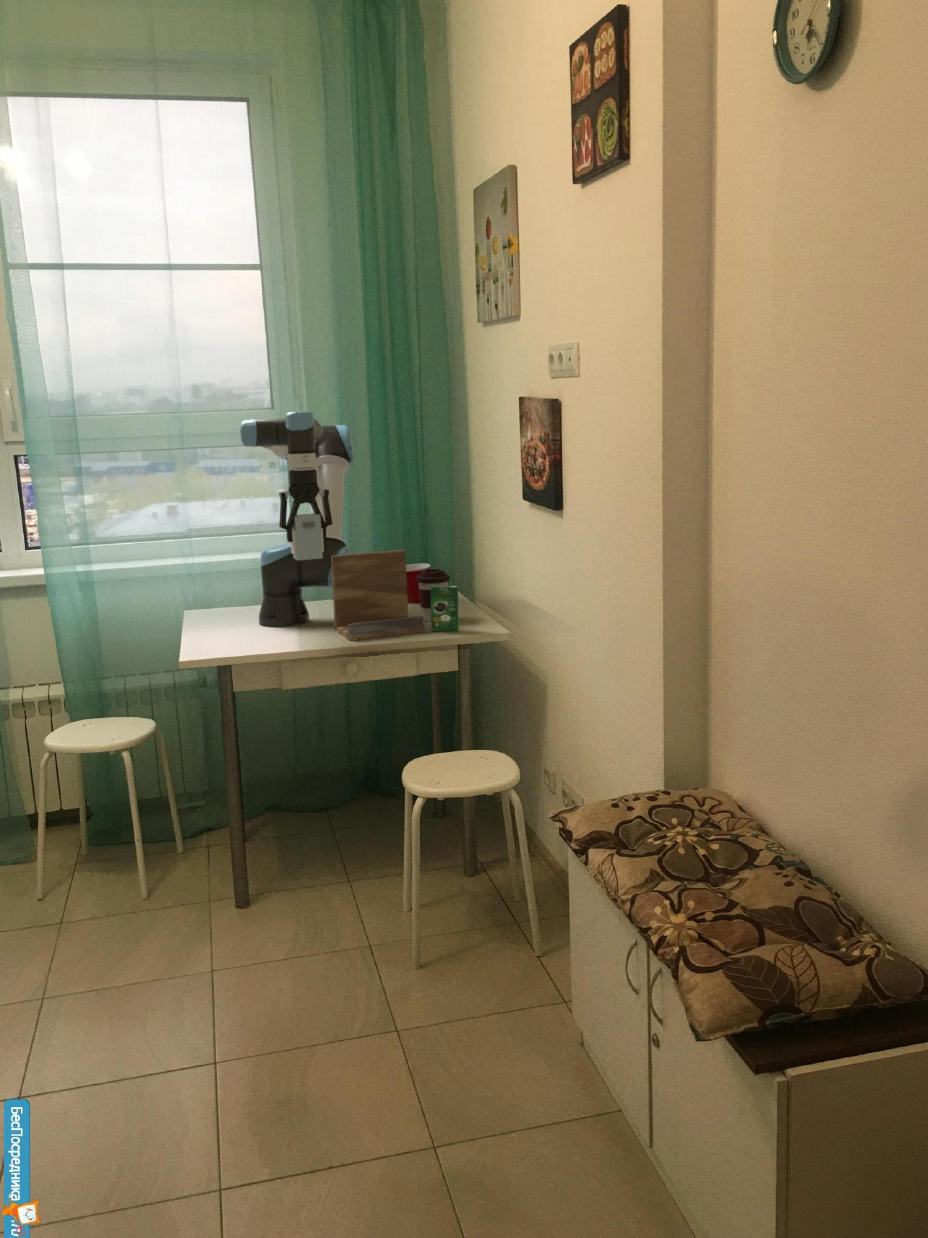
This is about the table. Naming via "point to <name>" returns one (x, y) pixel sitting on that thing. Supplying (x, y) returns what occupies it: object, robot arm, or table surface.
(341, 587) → the brown wooden display stand
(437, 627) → the coffee box
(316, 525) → the small blue-gray block
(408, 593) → the plastic cup
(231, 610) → the table surface
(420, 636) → the table surface
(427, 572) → the coffee cup
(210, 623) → the table surface
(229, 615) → the table surface
